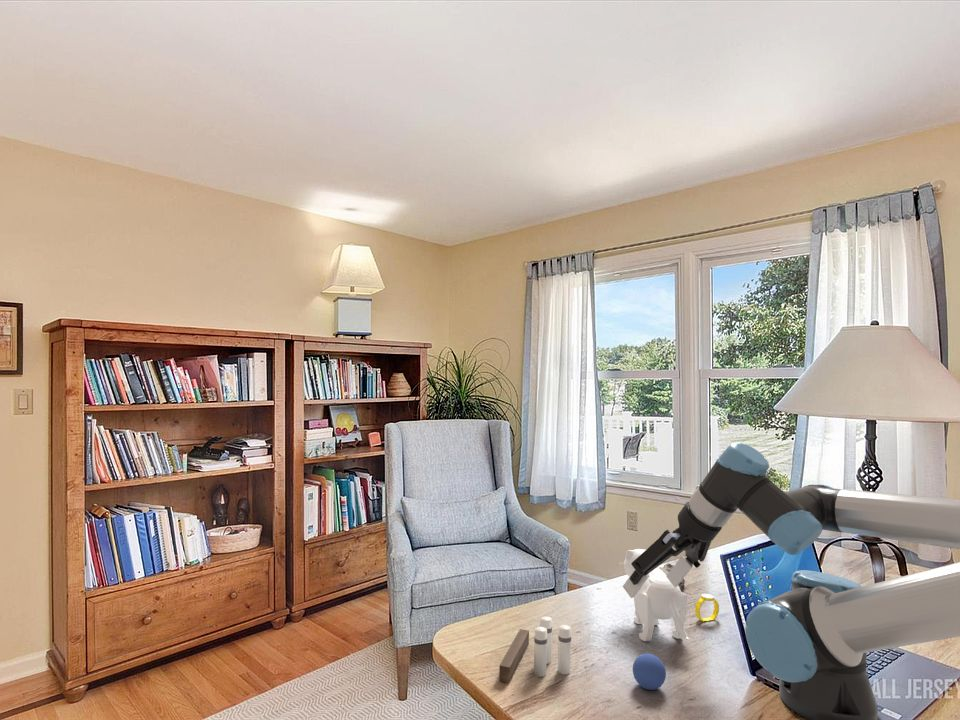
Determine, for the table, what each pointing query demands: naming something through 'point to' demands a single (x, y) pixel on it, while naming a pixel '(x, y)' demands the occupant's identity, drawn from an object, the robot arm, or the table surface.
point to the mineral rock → (667, 569)
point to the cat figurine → (657, 600)
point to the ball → (649, 671)
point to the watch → (697, 608)
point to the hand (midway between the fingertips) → (650, 586)
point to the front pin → (564, 649)
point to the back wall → (513, 656)
